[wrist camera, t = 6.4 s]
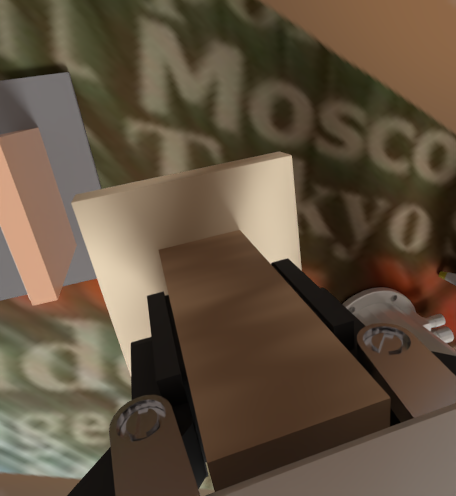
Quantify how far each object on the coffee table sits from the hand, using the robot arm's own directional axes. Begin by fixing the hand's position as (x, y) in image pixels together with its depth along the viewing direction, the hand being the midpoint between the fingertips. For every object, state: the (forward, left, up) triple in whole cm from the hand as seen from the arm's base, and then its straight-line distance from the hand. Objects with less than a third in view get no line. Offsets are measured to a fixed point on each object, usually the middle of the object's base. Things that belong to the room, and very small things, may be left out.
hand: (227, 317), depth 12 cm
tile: (+9, -1, -18) cm, 20 cm away
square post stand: (0, 0, -4) cm, 4 cm away
